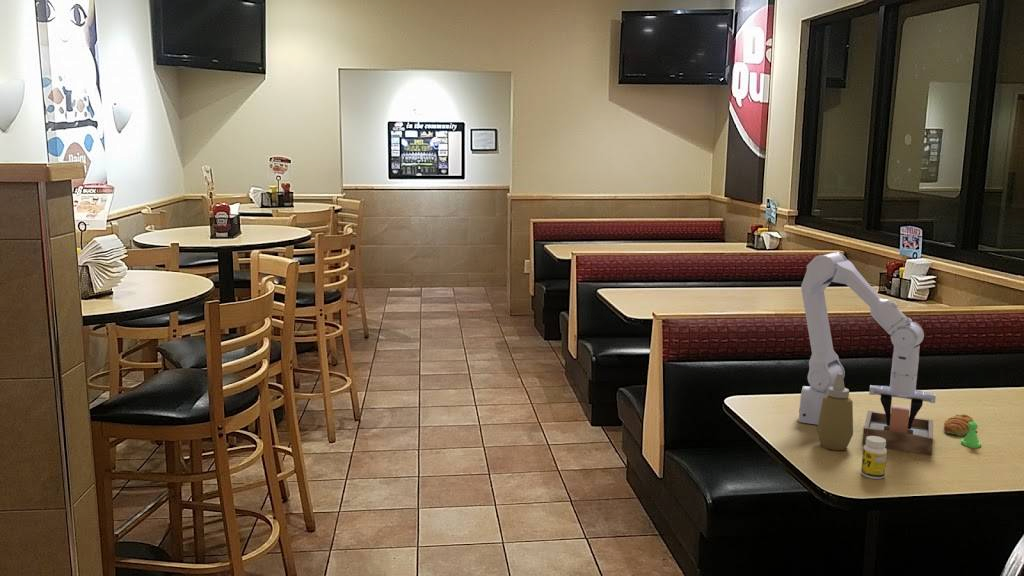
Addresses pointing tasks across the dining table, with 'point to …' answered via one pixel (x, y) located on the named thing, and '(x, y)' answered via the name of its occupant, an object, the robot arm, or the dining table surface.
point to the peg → (899, 418)
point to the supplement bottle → (874, 457)
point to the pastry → (958, 425)
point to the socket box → (912, 441)
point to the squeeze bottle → (836, 417)
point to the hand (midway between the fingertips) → (898, 426)
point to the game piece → (971, 436)
